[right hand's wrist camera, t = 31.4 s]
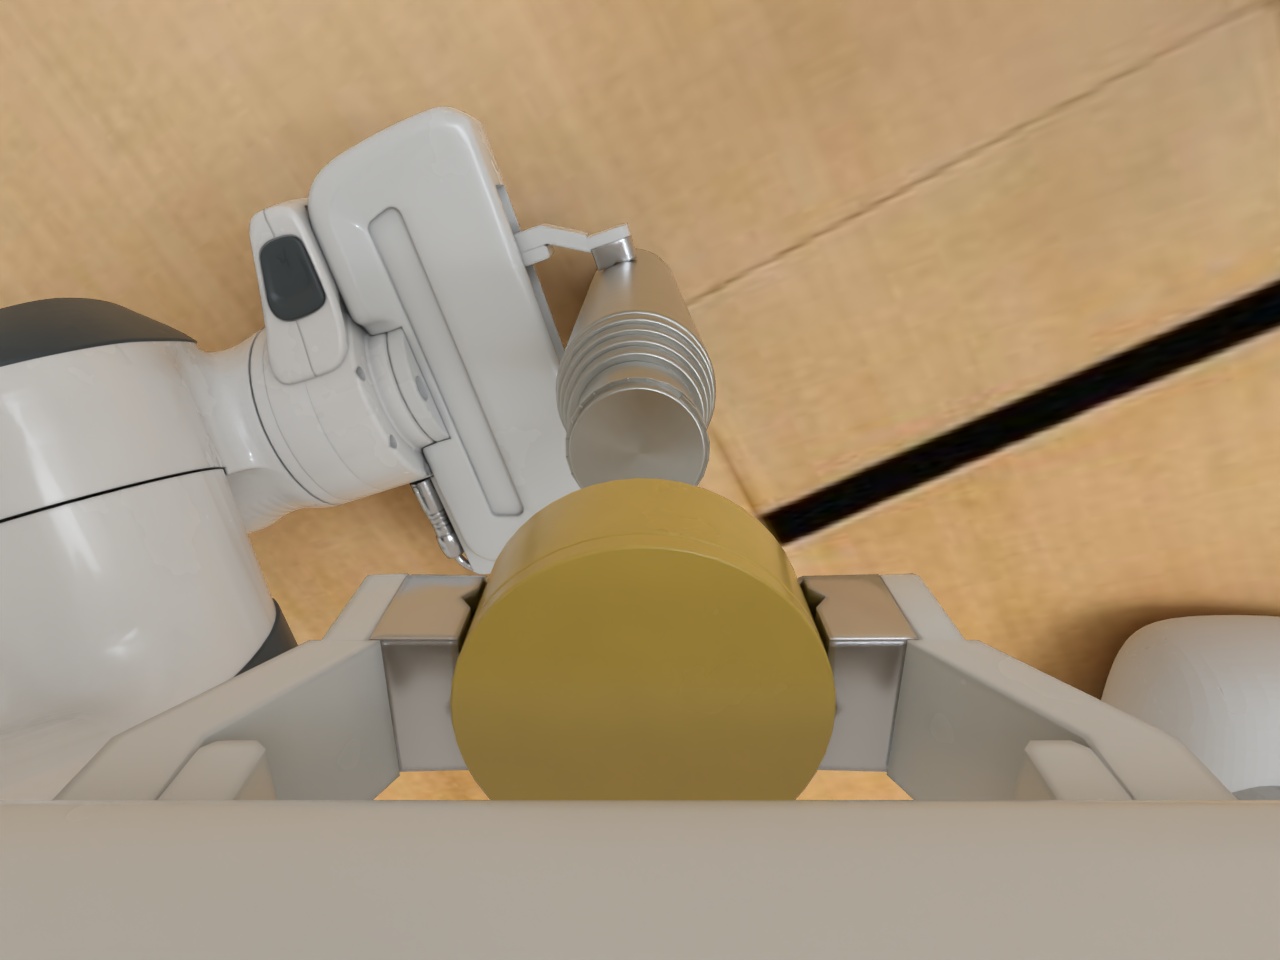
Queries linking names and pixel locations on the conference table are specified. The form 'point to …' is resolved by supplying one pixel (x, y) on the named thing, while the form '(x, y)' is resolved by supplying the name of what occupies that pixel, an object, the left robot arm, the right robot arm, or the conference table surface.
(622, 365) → the bottle
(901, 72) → the conference table surface
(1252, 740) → the white rounded housing
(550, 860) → the right robot arm
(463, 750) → the cap
